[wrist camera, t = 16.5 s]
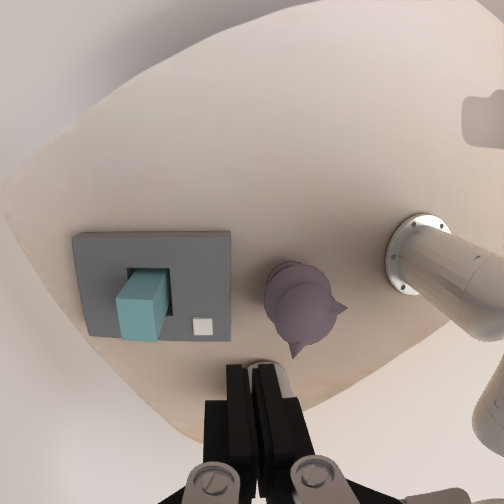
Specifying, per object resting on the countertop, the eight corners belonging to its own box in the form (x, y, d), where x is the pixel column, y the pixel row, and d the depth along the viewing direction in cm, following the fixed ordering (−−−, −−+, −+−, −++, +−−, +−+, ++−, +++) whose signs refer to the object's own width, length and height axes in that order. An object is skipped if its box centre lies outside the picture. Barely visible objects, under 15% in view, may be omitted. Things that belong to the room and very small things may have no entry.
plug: (168, 266, 39) (152, 300, 29) (170, 300, 40) (156, 341, 31) (139, 265, 39) (115, 298, 29) (142, 299, 40) (122, 339, 31)
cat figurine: (292, 240, 39) (319, 275, 28) (331, 277, 41) (366, 320, 30) (246, 288, 41) (255, 337, 29) (288, 320, 43) (308, 374, 31)
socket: (230, 231, 38) (230, 238, 35) (229, 329, 42) (230, 343, 39) (81, 232, 36) (70, 239, 33) (96, 325, 41) (88, 337, 37)
